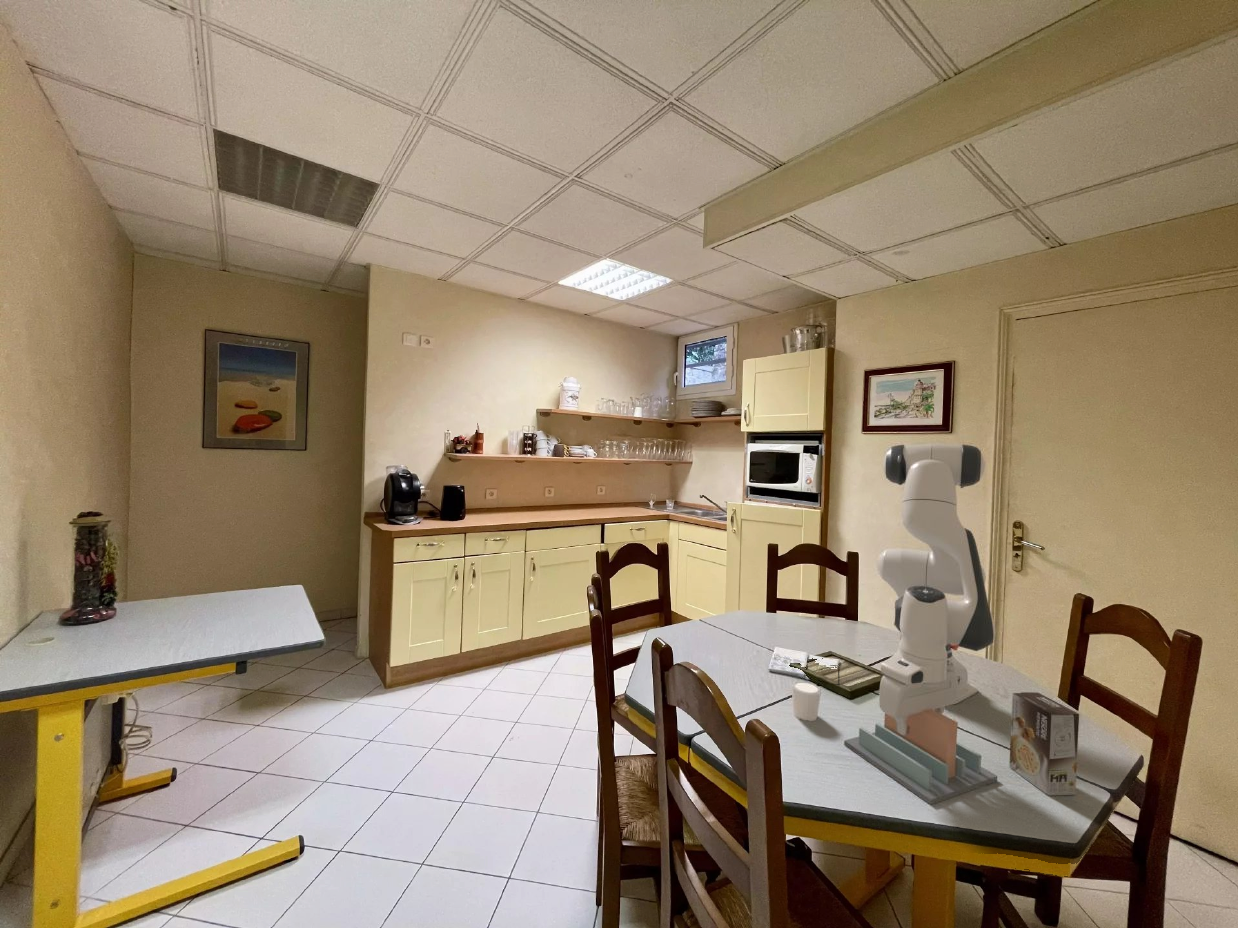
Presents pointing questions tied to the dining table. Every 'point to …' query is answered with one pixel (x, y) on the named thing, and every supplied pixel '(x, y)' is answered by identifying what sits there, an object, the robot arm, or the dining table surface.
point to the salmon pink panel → (930, 735)
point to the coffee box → (1044, 743)
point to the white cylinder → (805, 700)
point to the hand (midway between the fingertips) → (918, 728)
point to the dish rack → (920, 765)
